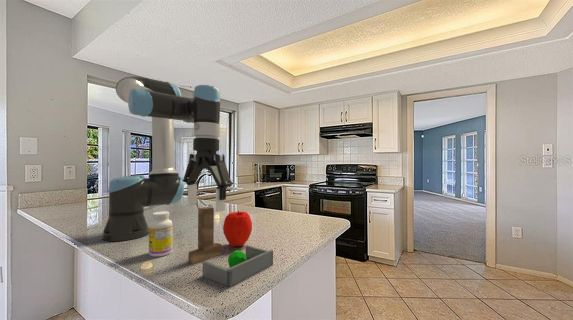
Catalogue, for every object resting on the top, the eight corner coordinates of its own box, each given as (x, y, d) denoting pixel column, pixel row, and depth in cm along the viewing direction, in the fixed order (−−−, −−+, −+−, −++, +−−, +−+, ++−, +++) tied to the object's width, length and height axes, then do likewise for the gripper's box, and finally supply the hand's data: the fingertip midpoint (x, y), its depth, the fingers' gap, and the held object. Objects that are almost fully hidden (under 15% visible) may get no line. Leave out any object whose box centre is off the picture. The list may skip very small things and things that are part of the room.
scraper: (187, 262, 72) (187, 210, 73) (215, 252, 81) (215, 205, 81) (194, 264, 71) (194, 211, 71) (222, 254, 79) (222, 206, 79)
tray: (202, 275, 64) (202, 259, 64) (247, 256, 77) (247, 243, 77) (229, 287, 58) (229, 269, 58) (272, 264, 71) (273, 250, 71)
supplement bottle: (150, 251, 81) (150, 211, 81) (172, 248, 83) (173, 210, 84) (147, 258, 75) (147, 215, 75) (171, 255, 77) (172, 213, 77)
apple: (236, 253, 80) (236, 214, 80) (216, 246, 86) (216, 210, 86) (257, 244, 88) (258, 209, 88) (238, 239, 94) (238, 206, 94)
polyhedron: (226, 267, 69) (226, 249, 69) (243, 264, 71) (244, 247, 71) (230, 274, 64) (230, 255, 65) (248, 271, 66) (248, 253, 67)
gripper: (172, 138, 80) (171, 204, 80) (224, 135, 66) (223, 216, 66) (193, 140, 86) (192, 201, 86) (244, 137, 72) (243, 211, 72)
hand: (205, 208), depth 76 cm, fingers open, 13 cm apart
